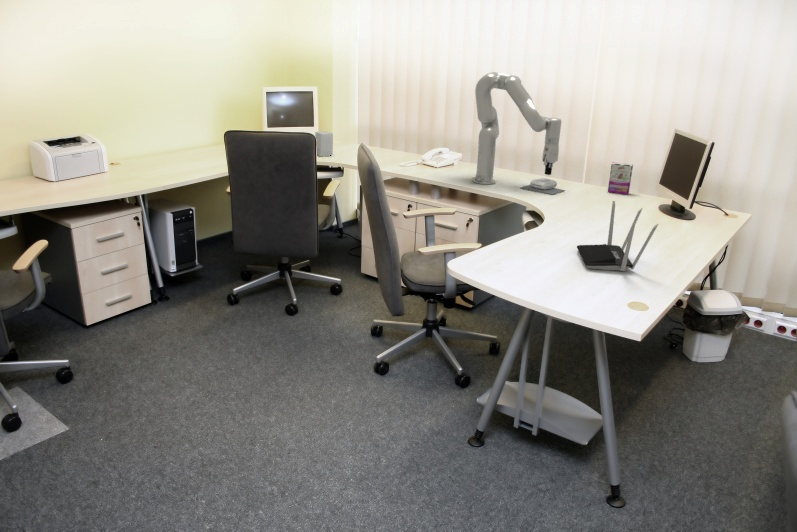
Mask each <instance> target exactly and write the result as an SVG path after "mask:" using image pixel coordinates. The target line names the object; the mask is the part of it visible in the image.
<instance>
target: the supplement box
mask: <svg viewBox="0 0 797 532" xmlns="http://www.w3.org/2000/svg"><path fill="white" fill-rule="evenodd" d="M314 132H315V133H314V134H315V135H314V137H315V136H316V139H317V154H318V155H317V156H318V157H321V156H325V157H331V156H330V155H334V154H333V153H334V150H333V149H334V148H333V146H334V145H333V144H334V143H333V142H334V139H333V138H334V133H333V132H330V131H314Z"/></svg>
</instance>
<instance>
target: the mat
mask: <svg viewBox="0 0 797 532" xmlns="http://www.w3.org/2000/svg"><path fill="white" fill-rule="evenodd" d="M519 189H521V190H525V189H526V191H530V190H531V192H534V193H535V192H536V193H540V194H546V195H550V196H554V195H557V194H561V193H564V192H565V191H566V190H565V189H561V188H556V187H555V188H551V189H546V190H542V189H537V188H534V187H532V186H531V185H530V184H528V185H524V186H520V187H519Z"/></svg>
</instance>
